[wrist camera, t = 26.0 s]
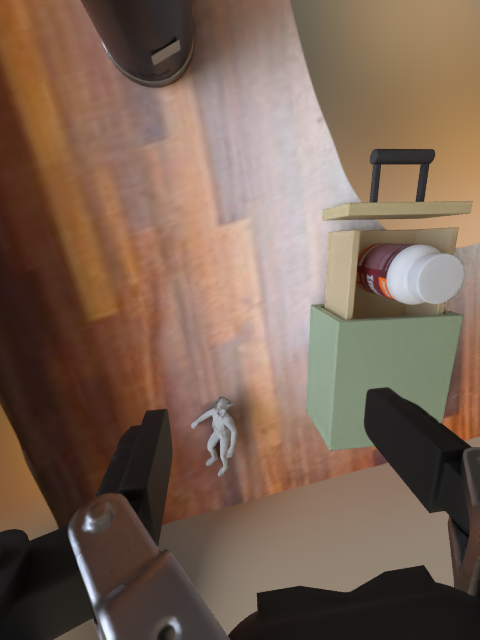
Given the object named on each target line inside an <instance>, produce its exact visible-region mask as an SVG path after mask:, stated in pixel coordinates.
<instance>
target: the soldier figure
mask: <svg viewBox="0 0 480 640" xmlns="http://www.w3.org/2000/svg"><path fill="white" fill-rule="evenodd" d="M232 405H234V403H232V402H230V401H229V400H228V399H226V398H224V397H223V396H222V397H219V400H218V401H217V402H216V404H215V406H214V408H213V409H211V410H209V411H207V412H206V413H204V414H203V415H202V416H200V417H199V418H198V419H197V420H196V421H194V422H193V424H192V425H191V428H192V427H194V429H195V427H196V425H197V424H198V423H199V422H202V421H203V420H205V419H207V418H209V417H210V416H213V423H212V426H213V429H214V432H213V434H212V435H211V437H210V439H209V441H208V443H207V445H208V450H209V451H210V453H211V455H212V457H211V458H210V459H209V460H208V461H207V463H206V465H207V466H210V465H212V463H213V462H214V461H216V460H218V456H217V453H216V449H215V446H216V443H217V442H219V440H220V456H221V460H223V465H224V466H223V467H222V468H221V469H220V471H219V473H218V476H220V477H221V476H223V475H224V473H225V471H226V470H228V469H229V464H228V458H230V457H232V455H233V453H234V448H235V446H236V440H237V429H236V425H235V423H234V420H233V418H232V417H231V416H230V415H229V414H228V412H226V411H225V409H226V410H228V409H229V407H230V406H232ZM192 429H193V428H192ZM230 435H231V447H230V448H229V444H230ZM230 454H231V455H230ZM228 455H229V456H230V457H229V456H228Z"/></svg>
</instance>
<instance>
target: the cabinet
mask: <svg viewBox="0 0 480 640" xmlns="http://www.w3.org/2000/svg"><path fill="white" fill-rule="evenodd" d="M324 305H325V304H320V305H311V316H310V339H309V361H308V384H307V406H306V411H307V412H308V414H309V416H310V418H311V419H312V421H313V423H314V424H315V426H316V428H317V430H318V431H319V433H320V435H321V436H322V438H323V440H324V442H325V443H326V445H327V447H328V449H329V450H330V451H333V450H342V449H352V448H361V447H371V446H375V445H374V444H373V443H372V442H371V440H370V439H369V438H368V436H367V434H366V432H365V428H364V413H365V403H366V393H367V391H368V390H369V389H374V388H384V387H389V388H391V389H392V390H393V391H394V392H396V393H397V394H398V395H399V396H401V397H402V398H404V399H407V400H409V401H411V402H413V403H415V404H417V405H419V406H420V407H421V408H423V409H424V410H425V411H426V412H428V413H429V415H431V416H433V417H434V418H435V419H437V420H438V422H439V423H442V420H443V415H444V410H445V405H446V400H447V395H448V390H449V385H450V380H451V375H452V370H453V365H454V360H455V355H456V350H457V345H458V340H459V335H460V330H461V324H462V319H463V315H461V314H457V313H454V312H450V311H447V310H444V313H443V314H438V315H420V316H403V317H385V318H368V319H350V320H342V319H341V318H339V317H337V316H336V315H334V314H332V313H330V312H329V311H327V310H325V309H324Z"/></svg>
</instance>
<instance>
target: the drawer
mask: <svg viewBox="0 0 480 640" xmlns="http://www.w3.org/2000/svg"><path fill="white" fill-rule="evenodd" d="M434 157H435V151H434V150H433V149H374V150H373V151H372V153H371V156H370V163H371V164H374V165H373V172H372V183H371V193H370V203H348V204H344V205H340V206H337V207H333V208H329V209H325V210H323V212H322V220H367V219H413V218H415V219H416V218H430V217H440V216H449V215H459V214H468V213H470V212H471V207H472V201H458V202H457V201H453V202H424V197H425V191H426V184H427V177H428V170H429V164H430V163H431V162H432V161H433V160H434ZM381 164H422V165H421V166H420V174H419V181H418V189H417V196H416V202H383V203H377V199H378V189H379V179H380V168H381ZM458 229H459V228H458V227H457V228H438V229H419V230H381V231H360V230H348V231H335V232H329V236H328V254H327V271H326V288H325V305H324V309H325V310H327V311H329V312H330V313H332V314H334V315H336V316H337V317H339V318H341V319H342V320H350V319H368V318H385V317H403V316H420V315H438V314H443V313H444V307H445V302H443V303H439V304H431V303H427V302H424V303H421V304H415V305H410V304H405V303H401V302H398V301H395V300H392V299H388V298H386V297H382V296H379V295H376V294H373V293H370V292H367V291H365V290H363V289H361V288H360V287H359V286H358V285H357V284H356V275H357V263H358V254H359V252H360V251H361V250H363V249H364V248H365V247H367V246H369V245H372V244H377V243H391V244H423V245H429V246H432V247H435V248H436V249H438V250H439V251H440V252H441V253H446V254H452V255H454V251H455V245H456V240H457V234H458Z"/></svg>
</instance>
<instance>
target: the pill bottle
mask: <svg viewBox="0 0 480 640" xmlns="http://www.w3.org/2000/svg"><path fill="white" fill-rule="evenodd" d="M463 280H464V267H463V264H462V262H461V261H460V259H459V258H457V257H456V256H454V255H452V254H446V253H441V252H440V251H439V250H438V249H436V248H435V247H432V246H429V245H423V244H391V243H377V244H372V245H369V246H367V247H365V248H364V249H363V250H361V251H360V252H359V254H358V263H357V275H356V284H357V285H358V286H359V287H360V288H361V289H363V290H365V291H367V292H370V293H373V294H376V295H379V296H382V297H386V298H388V299H392V300H395V301H398V302H401V303H405V304H410V305H415V304H421V303H424V302H427V303H431V304H439V303H443V302H446V301H448V300H449V299H451V298H452V297H453V296H454V295H455V294H456V293H457V292H458V291H459V289H460V287H461V286H462V283H463Z"/></svg>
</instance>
